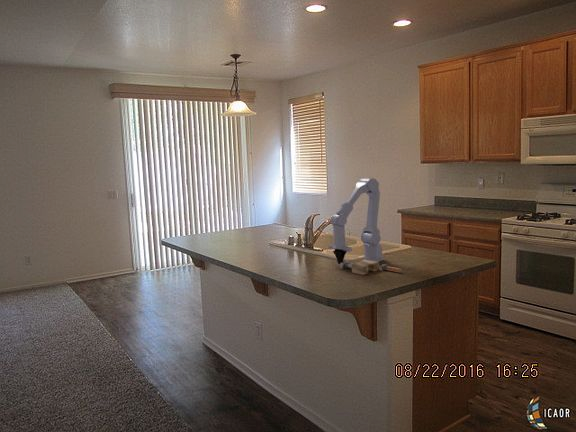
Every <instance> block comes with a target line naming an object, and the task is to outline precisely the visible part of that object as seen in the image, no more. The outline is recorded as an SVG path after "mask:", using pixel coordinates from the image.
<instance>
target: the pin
mask: <svg viewBox="0 0 576 432" xmlns="http://www.w3.org/2000/svg"><path fill="white" fill-rule="evenodd" d="M354 263H355V262H350V260H345V261H344V260H343V262H341V263H340V264H339V266H340V270H341V269H342V270H344V269H350V270H352V264H354Z"/></svg>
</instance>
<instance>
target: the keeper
mask: <svg viewBox="0 0 576 432" xmlns="http://www.w3.org/2000/svg"><path fill="white" fill-rule="evenodd" d="M381 270H382V271H390V272H395V273H402V272H403V268H399V267H396V266H395V267H394V266H389V265H388V264H385V263H384V264H383V263H382V264H381Z"/></svg>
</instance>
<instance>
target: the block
mask: <svg viewBox="0 0 576 432" xmlns="http://www.w3.org/2000/svg"><path fill="white" fill-rule="evenodd" d="M353 263H354V264H352V269H351V273H353V274H357V275H362V276H364V275H366V274H369V271H371V272H377V271H380V261H373V260H365V261H361V260H360V261H358V262H353Z"/></svg>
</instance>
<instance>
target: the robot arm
mask: <svg viewBox="0 0 576 432" xmlns="http://www.w3.org/2000/svg"><path fill="white" fill-rule="evenodd" d="M379 186H380V183H379V181H378V180H377V179H376V178H373V177H372V178H365V177H361V178H359V180H358V181H357V182H356V184H355V188H354V190H352V193H351V195H350V196H349V197H348V200H346V201H343V202H342V203H341V204H340V205H341V206H340V207H339V208H338V210H337V211H336V212H335V214H333V215H332V216H331V219H330V223H331V225H332V229H333V231H332V232H333V244H328V245H327V247H328V248H327V249H331V250H333V251H332V253H333V254H334V255H335V258H336V260H337V264H338V265H340V263H341V262H344V259H345V257H346V254H347V252H352V249H353V247H352V246H351V247H350V246H348V245H346V229H345V226H346V224H347V221H348V217H349V216H350V214H351V213H352V211H353V210H354V205H355V203H356V202H357V201H358V199H359V198H360V197H361V195H362V194H366V195H367V196H368V203H367V205H368V206H367V214H366V223H365V224H366V225H365V227H364V228H363V229H362V233H361V234H360V240H361V242H362V243H363V250H364V251H363V252H364V253H363V254H364V259H362V260H360V262H361V261H365V260H373V261H379V262H381V261H384V258H383V248H382V245H381V244H380V242H381V239H382V238H381V234H380V233H381V232H380V229H379V228H378V227H377V226H378V219H379V208H380V207H379V206H380V198H381V197H380V196H381V191H380V189H379Z"/></svg>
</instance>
